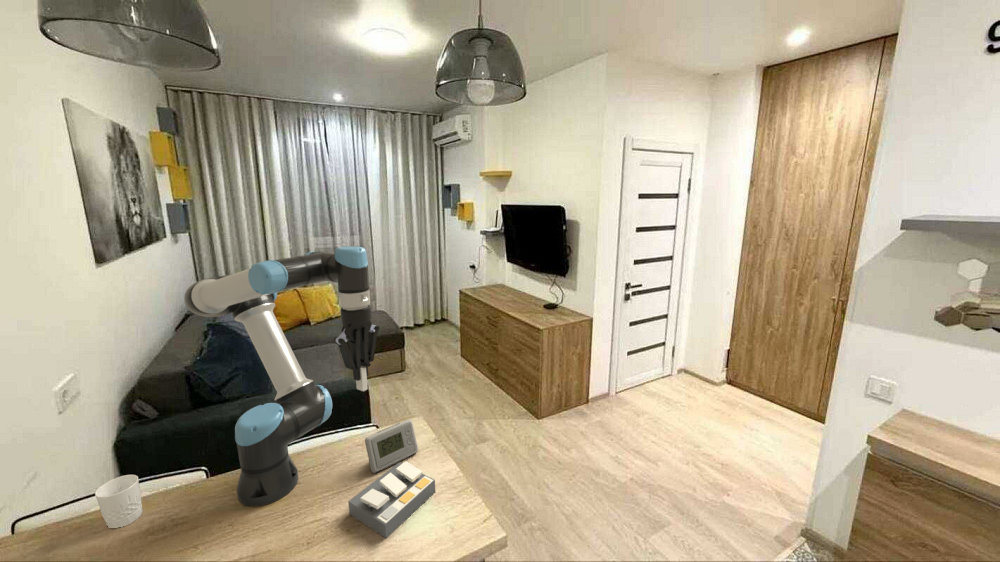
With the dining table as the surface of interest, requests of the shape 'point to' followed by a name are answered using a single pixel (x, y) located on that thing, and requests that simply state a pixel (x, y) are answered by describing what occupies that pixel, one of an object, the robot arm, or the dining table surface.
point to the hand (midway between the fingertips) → (362, 389)
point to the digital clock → (391, 445)
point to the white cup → (120, 501)
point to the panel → (392, 503)
